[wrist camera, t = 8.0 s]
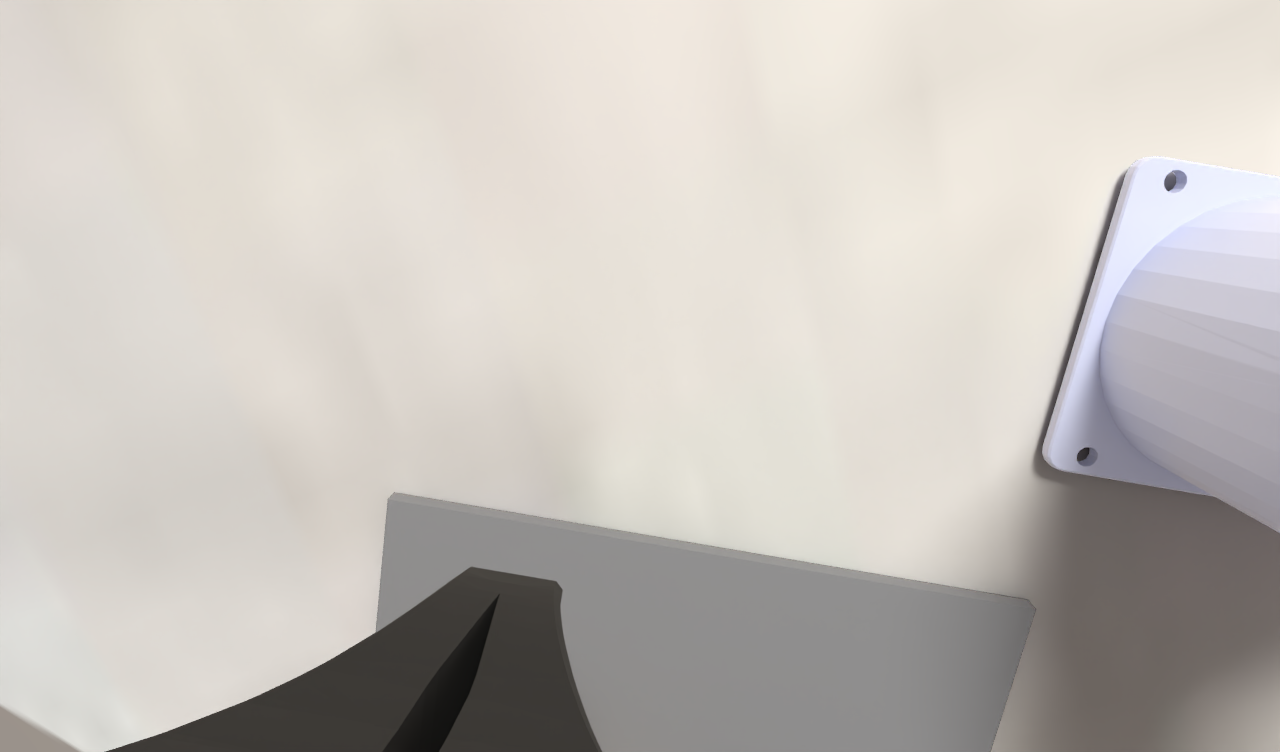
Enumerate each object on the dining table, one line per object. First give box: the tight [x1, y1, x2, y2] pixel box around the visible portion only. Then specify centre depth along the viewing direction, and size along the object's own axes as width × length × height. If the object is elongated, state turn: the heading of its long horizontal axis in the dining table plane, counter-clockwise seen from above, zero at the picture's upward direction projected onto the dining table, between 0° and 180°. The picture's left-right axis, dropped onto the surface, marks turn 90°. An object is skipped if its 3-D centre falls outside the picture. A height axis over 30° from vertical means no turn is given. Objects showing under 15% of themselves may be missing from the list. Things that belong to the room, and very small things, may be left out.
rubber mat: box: [376, 492, 1036, 752], centre depth 23 cm, size 18×12×1 cm, turn 81°
